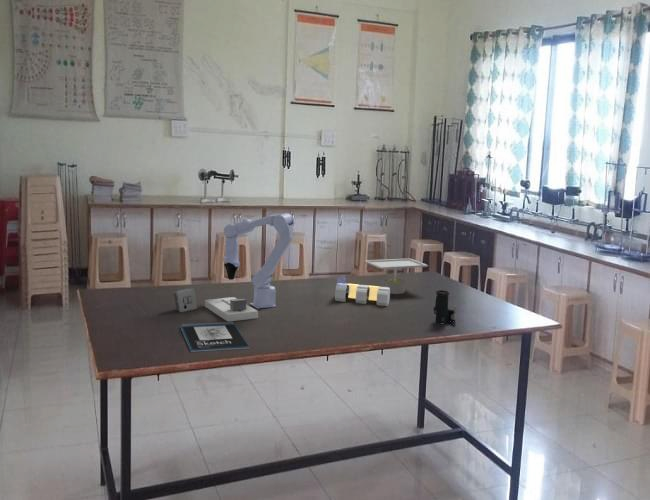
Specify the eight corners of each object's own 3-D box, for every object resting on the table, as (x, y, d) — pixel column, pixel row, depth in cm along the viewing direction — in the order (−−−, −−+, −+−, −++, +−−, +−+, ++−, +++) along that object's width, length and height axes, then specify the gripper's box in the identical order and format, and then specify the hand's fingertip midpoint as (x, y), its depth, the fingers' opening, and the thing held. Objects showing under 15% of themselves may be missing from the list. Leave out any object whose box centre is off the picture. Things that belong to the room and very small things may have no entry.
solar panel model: (408, 285, 360) (410, 258, 358) (425, 293, 345) (428, 265, 342) (362, 288, 349) (364, 260, 346) (378, 297, 333) (380, 267, 331)
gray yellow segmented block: (334, 301, 322) (336, 274, 319) (338, 296, 331) (340, 270, 329) (386, 307, 317) (388, 280, 314) (389, 301, 327) (391, 275, 324)
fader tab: (243, 307, 290) (243, 298, 289) (246, 309, 287) (246, 299, 287) (230, 308, 287) (230, 299, 286) (233, 310, 284) (233, 301, 284)
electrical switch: (180, 313, 289) (179, 291, 287) (173, 311, 292) (172, 290, 291) (197, 309, 296) (196, 288, 295) (190, 308, 299) (189, 287, 298)
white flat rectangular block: (233, 303, 308) (234, 296, 307) (258, 318, 287) (258, 311, 286) (204, 306, 301) (205, 299, 300) (227, 321, 280) (227, 314, 279)
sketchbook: (190, 354, 242) (191, 348, 241) (180, 328, 269) (180, 323, 269) (250, 349, 249) (250, 344, 248) (233, 325, 277) (233, 320, 276)
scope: (459, 292, 293) (444, 295, 287) (456, 323, 296) (441, 326, 289) (445, 288, 299) (429, 290, 293) (442, 318, 302) (427, 321, 295)
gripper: (217, 247, 311) (216, 276, 313) (230, 253, 299) (229, 283, 301) (231, 246, 314) (230, 275, 317) (244, 252, 302) (243, 282, 305)
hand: (230, 279), depth 309 cm, fingers closed
